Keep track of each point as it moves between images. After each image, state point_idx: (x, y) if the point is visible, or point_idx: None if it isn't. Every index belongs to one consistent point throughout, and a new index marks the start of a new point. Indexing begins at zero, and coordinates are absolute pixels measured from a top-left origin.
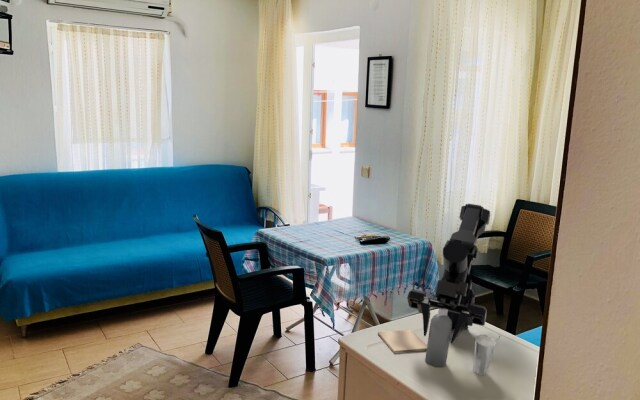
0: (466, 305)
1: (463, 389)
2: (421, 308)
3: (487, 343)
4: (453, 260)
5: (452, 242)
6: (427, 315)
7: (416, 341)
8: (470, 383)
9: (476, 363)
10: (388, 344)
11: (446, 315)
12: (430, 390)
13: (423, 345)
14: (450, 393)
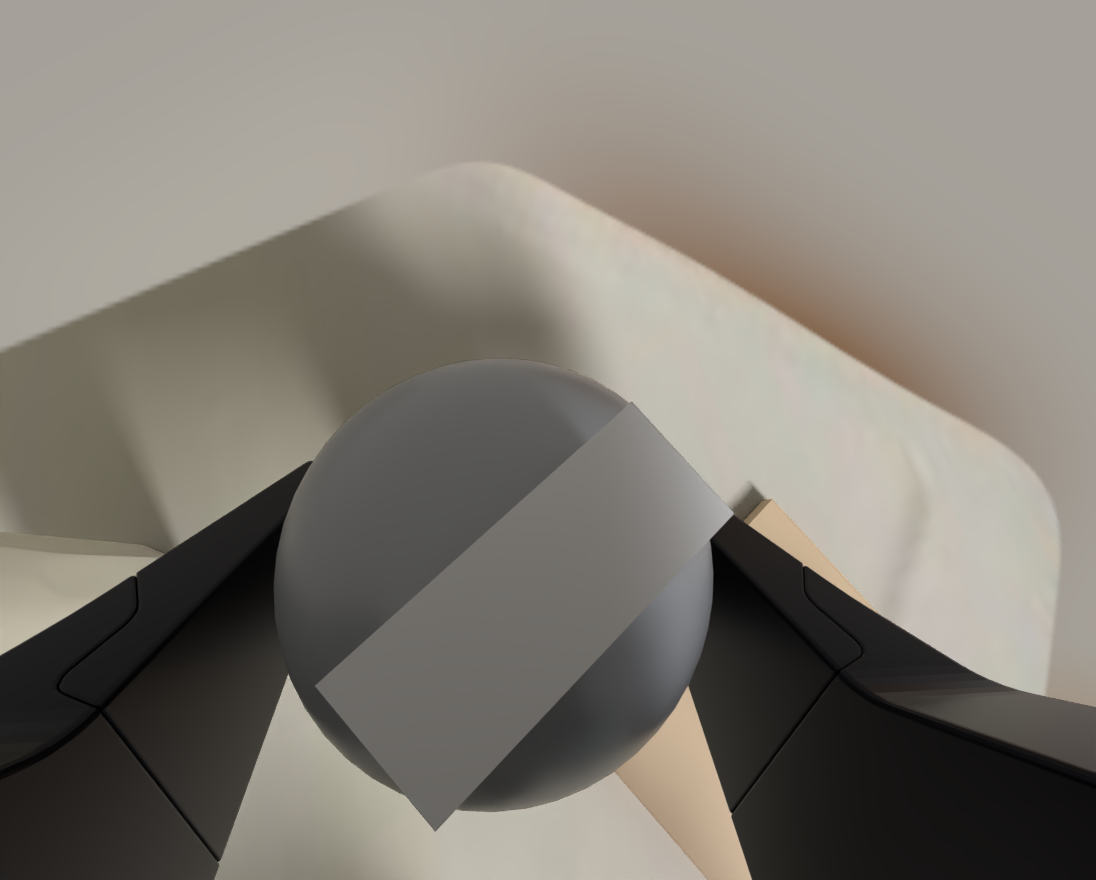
0: None
1: (257, 298)
2: (1087, 707)
3: None
4: None
5: None
6: (822, 640)
7: (692, 764)
8: (210, 392)
9: (112, 555)
10: (837, 571)
11: (398, 605)
12: (451, 201)
13: None
14: (335, 221)
